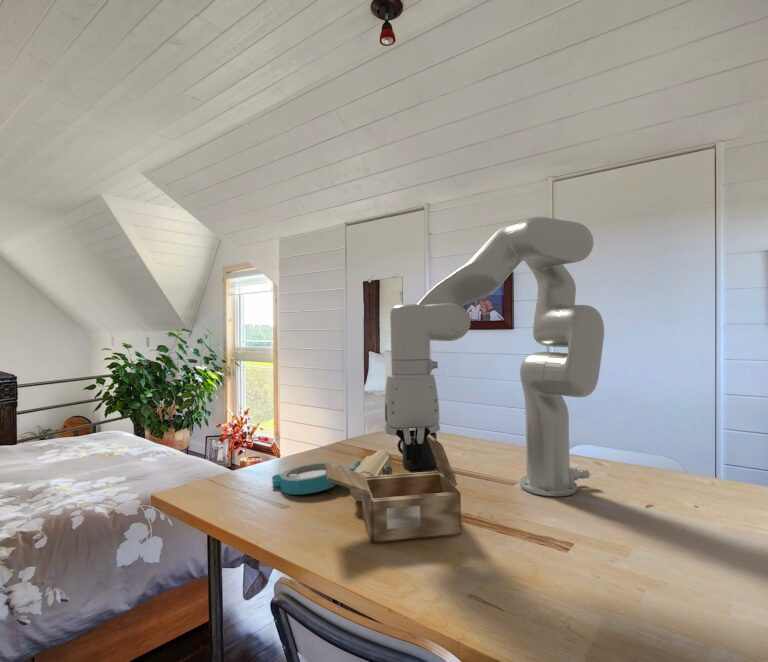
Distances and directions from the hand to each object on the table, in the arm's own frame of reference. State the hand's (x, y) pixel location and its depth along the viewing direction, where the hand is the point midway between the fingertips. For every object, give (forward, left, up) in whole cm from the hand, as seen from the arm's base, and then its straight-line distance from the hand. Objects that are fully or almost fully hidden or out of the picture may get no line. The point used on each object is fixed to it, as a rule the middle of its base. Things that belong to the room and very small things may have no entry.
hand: (413, 462), depth 89 cm
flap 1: (+9, 0, -4) cm, 10 cm away
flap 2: (-7, 0, -4) cm, 8 cm away
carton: (+1, 0, -12) cm, 12 cm away
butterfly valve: (+15, -25, -12) cm, 31 cm away
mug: (-9, -37, -12) cm, 40 cm away
